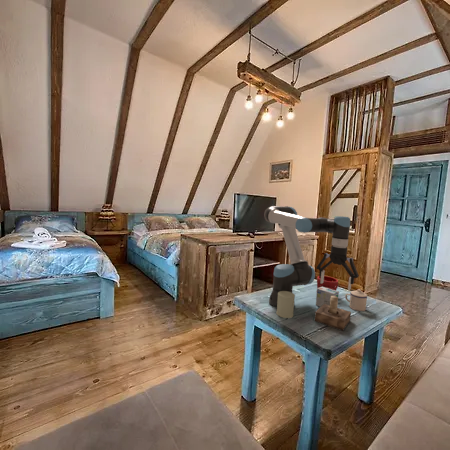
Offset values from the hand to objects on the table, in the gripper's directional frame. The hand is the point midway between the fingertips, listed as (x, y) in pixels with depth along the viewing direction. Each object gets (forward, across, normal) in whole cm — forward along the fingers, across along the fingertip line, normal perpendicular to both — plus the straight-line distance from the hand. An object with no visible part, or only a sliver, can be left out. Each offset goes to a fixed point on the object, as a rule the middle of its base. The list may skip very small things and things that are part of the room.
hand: (335, 286), depth 128 cm
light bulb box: (+19, -7, +16) cm, 26 cm away
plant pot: (+20, -13, +35) cm, 42 cm away
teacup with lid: (+19, +6, +28) cm, 34 cm away
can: (+19, -21, -11) cm, 31 cm away
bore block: (+19, +1, 0) cm, 19 cm away
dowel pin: (+18, 0, 0) cm, 18 cm away
